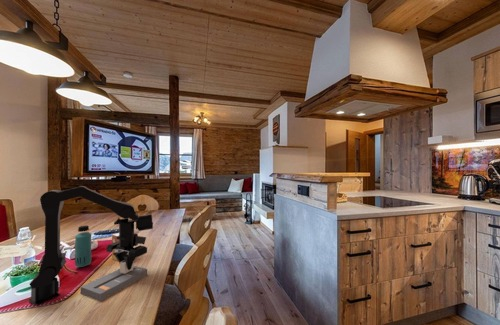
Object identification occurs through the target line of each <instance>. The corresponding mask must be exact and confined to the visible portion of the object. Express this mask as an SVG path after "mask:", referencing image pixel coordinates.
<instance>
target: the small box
mask: <svg viewBox="0 0 500 325" xmlns="http://www.w3.org/2000/svg"><path fill="white" fill-rule="evenodd" d="M111 236H112V237H111V244H112V243H115V242H117V241H119V239H117V236H119V232H118V233H113V234H112V235H111ZM113 253H115V250H114V249H113V251H112V252H111V259H112V260H115V261H116V262H119V261H118V260H117V258H116V257H115V256H114V255H113ZM127 255H128V253H127Z"/></svg>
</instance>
